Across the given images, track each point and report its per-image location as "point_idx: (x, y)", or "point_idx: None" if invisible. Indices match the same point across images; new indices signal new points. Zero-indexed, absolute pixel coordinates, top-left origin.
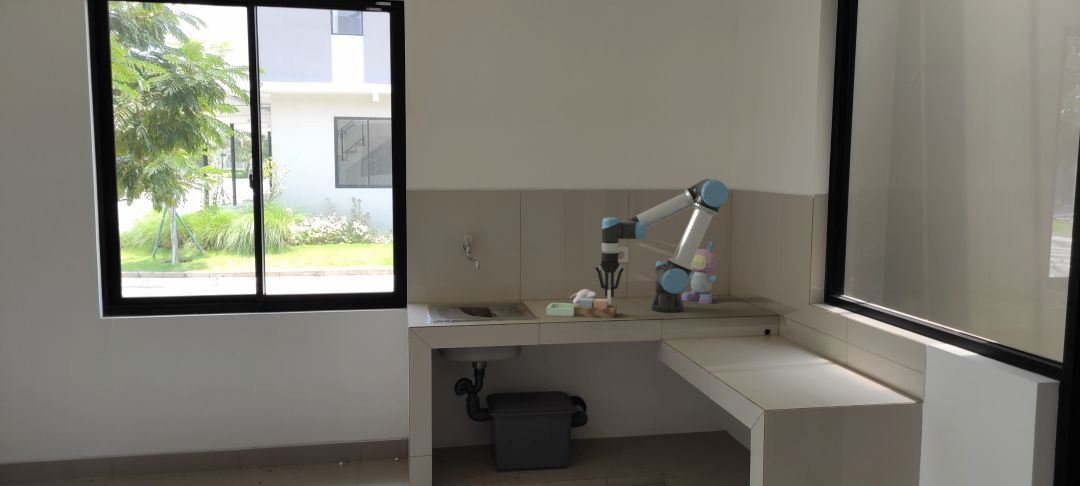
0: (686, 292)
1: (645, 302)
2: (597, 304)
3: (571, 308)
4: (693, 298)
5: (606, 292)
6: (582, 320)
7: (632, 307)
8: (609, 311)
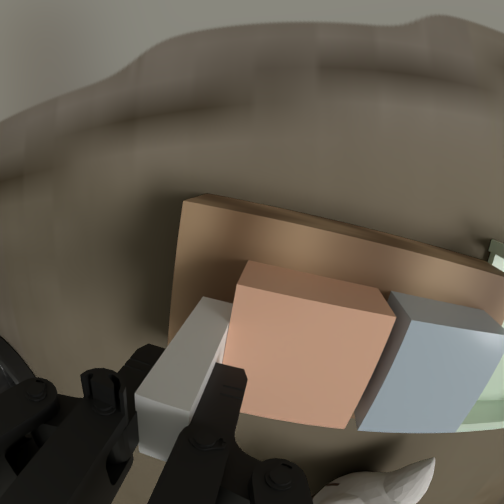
0: None
1: None
2: (345, 292)
3: None
4: None
5: (217, 402)
6: (443, 106)
7: None
8: (226, 203)
